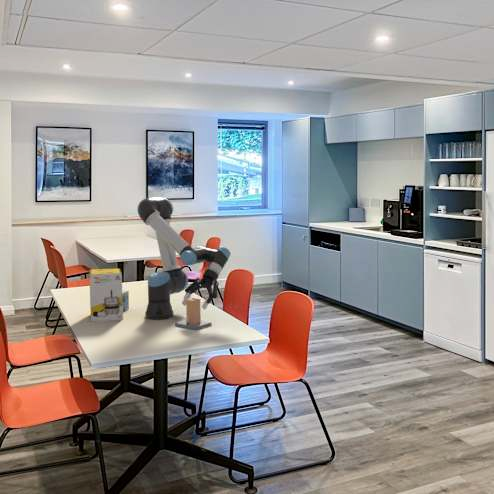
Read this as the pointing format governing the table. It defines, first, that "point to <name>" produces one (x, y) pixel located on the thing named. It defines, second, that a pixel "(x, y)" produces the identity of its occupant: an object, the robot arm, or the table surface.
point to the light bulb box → (125, 300)
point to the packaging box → (106, 294)
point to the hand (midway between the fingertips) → (193, 306)
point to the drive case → (193, 310)
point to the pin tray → (193, 326)
